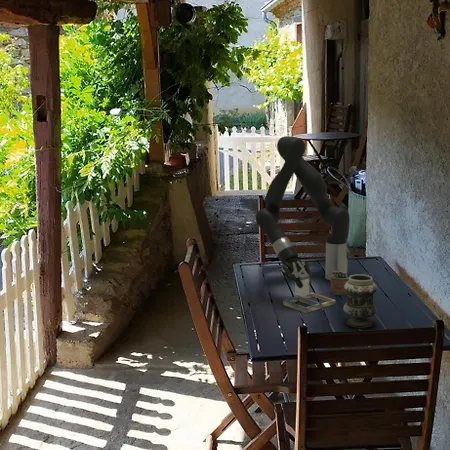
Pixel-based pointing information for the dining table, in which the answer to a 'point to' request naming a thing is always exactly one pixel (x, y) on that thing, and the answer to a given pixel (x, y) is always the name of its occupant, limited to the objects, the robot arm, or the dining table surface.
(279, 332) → the dining table surface
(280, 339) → the dining table surface
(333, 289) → the lighter
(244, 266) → the dining table surface
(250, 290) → the dining table surface
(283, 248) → the robot arm
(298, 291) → the cream tall block
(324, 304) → the bay tray
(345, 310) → the apothecary jar
